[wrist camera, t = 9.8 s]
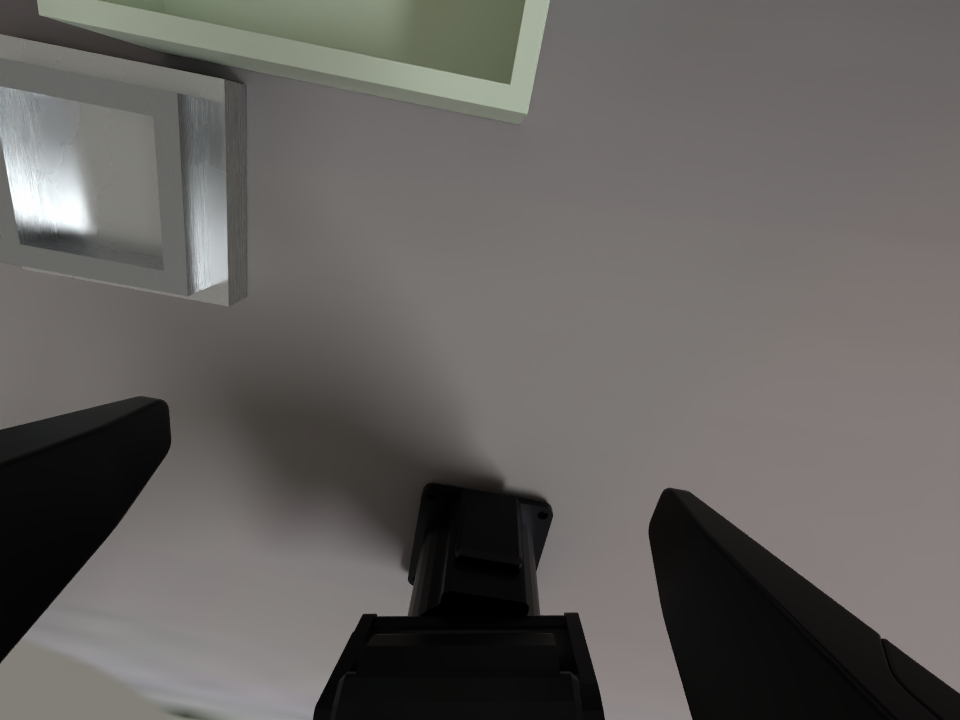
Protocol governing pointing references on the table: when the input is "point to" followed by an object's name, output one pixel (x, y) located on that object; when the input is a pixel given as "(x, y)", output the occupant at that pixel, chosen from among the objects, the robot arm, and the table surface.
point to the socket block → (122, 172)
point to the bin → (346, 43)
